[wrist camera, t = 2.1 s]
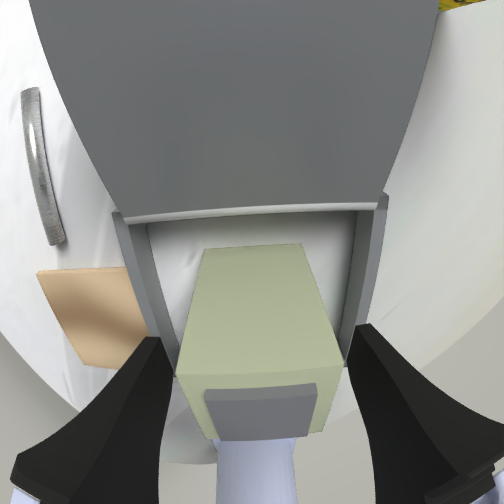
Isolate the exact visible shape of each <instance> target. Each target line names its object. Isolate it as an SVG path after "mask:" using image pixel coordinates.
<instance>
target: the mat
mask: <svg viewBox="0 0 504 504" xmlns="http://www.w3.org/2000/svg"><path fill="white" fill-rule="evenodd" d="M36 276H37V278H38V280H39V283H40V285H41V287H42V289H43V292H44V294H45V296H46V298H47V300H48V302H49V304H50V306H51V308H52V310H53V312H54V314H55V316H56V318H57V320H58V322H59V324H60V326H61V327H62V329H63V331H64V333H65V335H66V336H67V338H68V340H69V341H70V343H71V345H72V347H73V348H74V350H75V351H76V353H77V355H78V356H79V358H80V359H81V361H82V363H83V364H84V365H88V366H95V367H102V368H110V369H120V368H121V367H122V366H123V364H124V363H125V362H126V361H127V359H128V358H129V357H130V355H131V354H132V353H133V352H134V350H135V349H136V348H137V346H138V345H139V344H140V343H141V341H142V340H143V339H144V338H145V337H146V336H148V337H150V334H149V332H148V329H147V326H146V324H145V321H144V319H143V316H142V313H141V310H140V308H139V305H138V302H137V299H136V296H135V293H134V290H133V287H132V284H131V281H130V278H129V275H128V272H127V268H126V267H115V268H94V269H72V270H48V271H39V272H38V273H37V274H36Z"/></svg>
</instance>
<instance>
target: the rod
mask: <svg viewBox="0 0 504 504" xmlns="http://www.w3.org/2000/svg"><path fill="white" fill-rule="evenodd" d="M21 110H22V122H23V132H24V140H25V147H26V153H27V159H28V165H29V170H30V175H31V180H32V185H33V189H34V193H35V198H36V202H37V205H38V209H39V213H40V216H41V220H42V223H43V227H44V230H45V233H46V236H47V239H48V242H49V245H50V246H53V245H57V244H59V243H61V242H63V241H64V240H65V235H64V232H63V228H62V225H61V221H60V218H59V214H58V211H57V207H56V203H55V199H54V195H53V190H52V186H51V181H50V177H49V172H48V166H47V161H46V155H45V149H44V142H43V134H42V126H41V116H40V103H39V87H32V88H29V89H26V90H24V91H22V92H21Z"/></svg>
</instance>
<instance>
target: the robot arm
mask: <svg viewBox="0 0 504 504" xmlns="http://www.w3.org/2000/svg"><path fill="white" fill-rule="evenodd" d="M346 362H347V367H348V372H349V377H350V381H351V385H352V388H353V391H354V394H355V397H356V400H357V403H358V406H359V409H360V412H361V414H362V418H363V421H364V424H365V427H366V430H367V434H368V438H369V444H370V449H371V456H372V462H373V470H374V480H375V492H376V493H375V495H376V496H375V497H376V504H504V468H503V469H502V470H501V471H499V472H498V473H496V474H494V475H493V476H492V472H493V471H495V467H494V463H496V462H497V461H498V460H500V459H501V458H502V457H504V424H501V423H499V422H496V421H494V420H491V419H488V418H487V417H484V416H482V415H480V414H478V413H476V412H474V411H472V410H471V409H469V408H467V407H465V406H464V405H462V404H460V403H459V402H457V401H456V400H454V399H453V398H451V397H450V396H448V395H447V394H445V393H444V392H443V391H441V390H440V389H439V388H437V387H436V386H435V385H434V384H432V383H431V382H430V381H429V380H427V379H426V378H425V377H424V376H423V375H422V374H421V373H419V372H418V371H417V370H416V369H415V368H414V367H413V366H412V365H411V364H410V363H409V362H408V361H407V360H406V359H405V358H404V357H403V356H402V355H401V354H399V352H398V351H397V350H396V349H395V348H394V347H393V346H392V345H391V344H390V343H389V342H388V341H387V340H386V339H385V338H384V337H383V336H382V335H381V334H380V333H379V332H378V331H377V330H376V329H375V328H374V327H373V326H372V325H371V324H370V323H369V324H362V325H355V329H354V333H353V337H352V341H351V345H350V348H349V352H348V356H347V359H346ZM173 371H174V370H173V368H172V365H171V363H170V360H169V358H168V355H167V353H166V350H165V348H164V345H163V343H162V340H161V337H148V336H146V337H145V338H144V339H143V340H142V341H141V343H140V344H139V345H138V346H137V348H136V349H135V350H134V352H133V353H132V354H131V355H130V357H129V358H128V359H127V361H126V362H125V363H124V364H123V366H122V367H121V368H120V369H119V371H118V372H117V373H116V374H115V376H114V377H113V378H112V379H111V380H110V382H109V383H108V384H107V385H106V386H105V387H104V388H103V390H102V391H101V392H100V393H99V394H98V395H97V396H96V397H95V398H94V400H93V401H92V402H91V403H90V404H89V405H88V406H87V407H86V408H85V409H83V410H82V411H81V412H80V413H79V414H78V415H77V416H76V417H75V418H74V419H72V420H71V421H70V422H69V423H67V424H66V425H65V426H64V427H62V428H61V429H60V430H58V431H57V432H56V433H54V434H53V435H51V436H50V437H48V438H47V439H45V440H44V441H42V442H40V443H39V444H37V445H35V446H34V447H32V448H29V449H27V450H26V451H24V452H22V453H19V454H18V455H17V458H16V461H15V464H14V467H13V470H12V473H11V477H10V480H11V482H12V483H13V484H15V485H16V486H18V487H19V488H21V489H23V490H24V491H26V492H27V493H29V494H31V495H33V496H34V497H36V498H38V499H39V500H38V499H36V498H34V497H32V496H30V495H28V494H27V493H25V492H23V491H21V490H20V489H18V488H14V491H13V495H12V499H11V503H10V504H159V497H158V475H159V456H160V446H161V439H162V435H163V430H164V425H165V421H166V416H167V411H168V407H169V402H170V398H171V392H172V383H173ZM211 440H212V442H213V444H214V446H215V448H216V450H217V452H218V461H217V486H216V504H297V493H296V483H295V474H294V465H293V451H294V446H295V442H296V437H295V438H286V439H274V440H257V441H221V440H220V439H211Z"/></svg>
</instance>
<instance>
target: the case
mask: <svg viewBox="0 0 504 504" xmlns="http://www.w3.org/2000/svg"><path fill="white" fill-rule="evenodd" d="M388 201H389V195H387V194H386V193H384V192H383V191H382V194H381V196H380V198H379V201H378V204H377V207H376V209H375V210H339V211H357V216H356V227H355V236H354V245H353V253H352V261H351V268H350V275H349V282H348V288H347V294H346V300H345V306H344V311H343V317H342V322H341V327H340V332H339V337H338V339H336V340H337V343H338V346H339V349H340V352H341V355H342V358H343V361H344V367H347V362H346V359H347V356H348V352H349V348H350V345H351V341H352V337H353V333H354V329H355V325H362V324H366V320H367V316H368V312H369V308H370V304H371V300H372V295H373V291H374V286H375V282H376V277H377V272H378V267H379V261H380V256H381V250H382V244H383V238H384V231H385V224H386V217H387V209H388ZM309 212H325V211H309ZM286 213H299V212H286ZM267 214H278V213H267ZM250 215H260V214H250ZM234 216H243V215H234ZM112 217H113V221H114V225H115V229H116V233H117V237H118V240H119V244H120V248H121V251H122V255H123V258H124V262H125V265H126V268H127V272H128V275H129V278H130V281H131V284H132V287H133V290H134V293H135V296H136V299H137V302H138V305H139V308H140V310H141V313H142V316H143V319H144V321H145V324H146V326H147V329H148V332H149V334H150V337H161V340H162V343H163V345H164V348H165V350H166V353H167V355H168V358H169V360H170V363H171V365H172V368H173V370H174V371H173V377H177V376H176V374H175V373H176V368H177V363H178V359H179V354H180V349H181V348H179V345H178V342H177V339H176V336H175V333H174V330H173V327H172V323H171V320H170V317H169V314H168V310H167V307H166V304H165V300H164V297H163V293H162V290H161V286H160V282H159V278H158V275H157V271H156V267H155V263H154V259H153V255H152V251H151V247H150V242H149V238H148V234H147V229H146V224H145V223H139V224H129V225H127V224H126V223H125V221H124V218H123V216H122V215H121V213H120V211H119V210H118V208H116V209H115V210H114V211H113V212H112ZM219 217H228V216H219ZM206 218H214V217H206ZM193 219H201V218H193ZM181 220H188V219H181ZM170 221H176V220H170ZM159 222H165V221H159ZM149 223H154V222H149ZM344 367H343V368H344Z"/></svg>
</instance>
